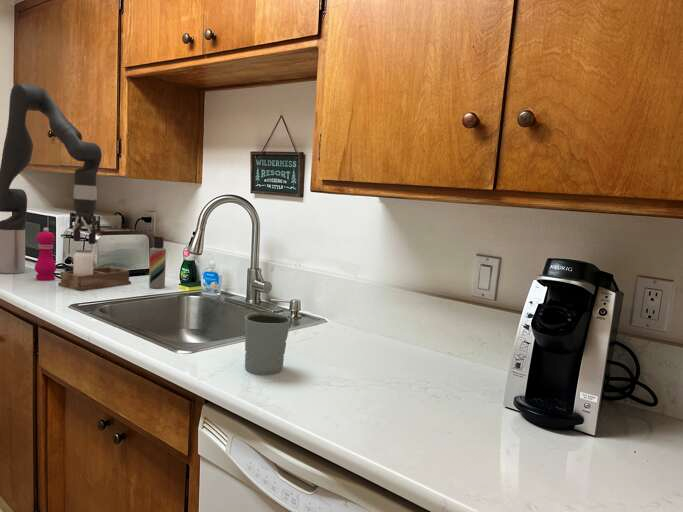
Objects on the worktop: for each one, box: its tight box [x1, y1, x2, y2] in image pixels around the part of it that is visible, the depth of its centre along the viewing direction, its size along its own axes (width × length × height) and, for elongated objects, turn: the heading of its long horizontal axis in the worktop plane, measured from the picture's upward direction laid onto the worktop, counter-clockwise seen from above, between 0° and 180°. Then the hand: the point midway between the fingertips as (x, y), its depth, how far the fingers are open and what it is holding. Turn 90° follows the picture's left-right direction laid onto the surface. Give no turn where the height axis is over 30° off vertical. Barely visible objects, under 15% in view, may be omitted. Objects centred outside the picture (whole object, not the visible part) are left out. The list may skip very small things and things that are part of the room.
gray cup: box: [244, 312, 291, 376], centre depth 117 cm, size 10×10×12 cm
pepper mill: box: [34, 227, 57, 282], centre depth 195 cm, size 7×7×20 cm
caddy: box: [57, 266, 132, 292], centre depth 193 cm, size 13×21×5 cm, turn 151°
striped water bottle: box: [148, 235, 167, 290], centre depth 196 cm, size 6×6×20 cm
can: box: [72, 249, 94, 276], centre depth 188 cm, size 6×6×12 cm
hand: (84, 242), depth 187 cm, fingers open, 8 cm apart
